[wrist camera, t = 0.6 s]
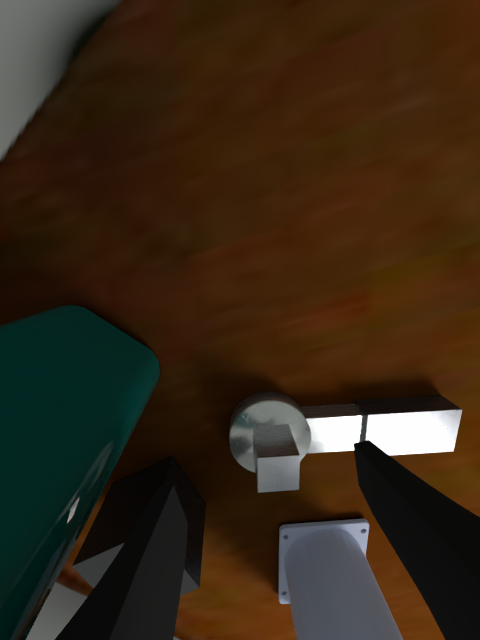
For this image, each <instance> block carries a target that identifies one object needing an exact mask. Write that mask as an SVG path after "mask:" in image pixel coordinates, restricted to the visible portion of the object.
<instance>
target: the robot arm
mask: <svg viewBox="0 0 480 640" xmlns="http://www.w3.org/2000/svg"><path fill="white" fill-rule="evenodd" d="M353 445H354V453H355V460H356V468H357V475H358V482H359V486H360V488H361V491H362V493H363V495H364V497H365V499H366V501H367V503H368V505H369V507H370V509H371V511H372V513H373V515H374V517H375V518H376V520H377V522H378V523H379V525H380V527H381V528H382V530H383V532H384V533H385V535H386V537H387V538H388V540H389V542H390V543H391V545H392V547H393V548H394V550H395V552H396V553H397V555H398V556H399V558H400V560H401V561H402V563H403V565H404V566H405V568H406V570H407V571H408V573H409V575H410V576H411V578H412V579H413V581H414V583H415V584H416V586H417V588H418V589H419V591H420V593H421V595H422V596H423V598H424V600H425V602H426V603H427V605H428V607H429V609H430V611H431V613H432V615H433V617H434V618H435V620H436V622H437V624H438V626H439V628H440V630H441V632H442V634H443V636H444V638H445V640H480V517H478V516H477V515H475V514H473V513H472V512H470V511H468V510H467V509H465V508H464V507H462V506H460V505H459V504H457V503H456V502H454V501H453V500H451V499H450V498H448V497H446V496H445V495H443V494H442V493H440V492H439V491H437V490H436V489H435V488H433V487H432V486H430V485H429V484H427V483H426V482H424V481H423V480H422V479H420V478H419V477H417V476H416V475H415V474H413V473H412V472H410V471H409V470H408V469H406V468H405V467H404V466H402V465H401V464H400V463H398V462H397V461H396V460H394V459H393V458H392V457H390V456H389V455H388V454H386V453H385V452H384V451H382V450H381V449H380V448H379V447H377V446H376V445H375V444H373V443H372V442H371V441H369V440H367V441H362V442H358V443H354V444H353ZM187 529H188V523H187V520H186V518H185V515H184V512H183V509H182V506H181V504H180V501H179V498H178V495H177V493H176V490H175V487H174V485H169V486H165V487H161V488H158V490H157V491H156V493H155V494H154V496H153V497H152V499H151V501H150V502H149V504H148V506H147V507H146V509H145V511H144V512H143V514H142V516H141V517H140V519H139V521H138V522H137V524H136V526H135V527H134V529H133V530H132V532H131V533H130V535H129V537H128V538H127V540H126V541H125V543H124V545H123V546H122V548H121V549H120V551H119V552H118V554H117V555H116V557H115V558H114V560H113V561H112V563H111V564H110V566H109V567H108V569H107V570H106V572H105V573H104V575H103V576H102V578H101V579H100V581H99V582H98V583H97V585H96V586H95V588H94V589H93V590H92V592H91V593H90V595H89V596H88V597H87V599H86V600H85V601H84V603H83V604H82V606H81V607H80V608H79V609H78V611H77V612H76V613H75V615H74V616H73V617H72V619H71V620H70V621H69V623H68V624H67V625H66V626H65V628H64V629H63V630H62V631H61V633H60V634H59V635H58V636H57V637H56V639H55V640H173V637H174V630H175V624H176V618H177V611H178V605H179V599H180V592H181V586H182V579H183V573H184V566H185V559H186V548H187ZM368 532H369V523H368V521H367V520H366V519H350V520H337V521H324V522H310V523H297V524H284V525H282V526H281V527H280V528H279V586H278V597H279V602H280V603H281V604H289V603H290V606H291V611H292V617H293V622H294V628H295V633H296V639H297V640H403V638H402V636H401V634H400V632H399V629H398V627H397V625H396V623H395V621H394V618H393V616H392V614H391V612H390V610H389V607H388V605H387V603H386V601H385V599H384V596H383V594H382V592H381V590H380V588H379V586H378V583H377V581H376V579H375V577H374V575H373V572H372V570H371V568H370V566H369V564H368V561H367V559H366V557H365V556H366V548H367V540H368Z"/></svg>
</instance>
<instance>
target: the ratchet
mask: <svg viewBox="0 0 480 640" xmlns="http://www.w3.org/2000/svg"><path fill="white" fill-rule="evenodd" d="M461 413H462V409H461V408H459V407H458V406H456V405H455V404H453V403H452V402H450V401H449V400H447V399H446V398H444V397H443V396H441V395H440V396H422V397H404V398H387V399H369V400H355V404H340V405H322V406H305V407H300V406H299V405H298V403H297V402H296V401H295V400H293V399H292V398H291V397H289V396H287V395H285V394H283V393H279V392H273V391H265V392H259V393H256V394H253V395H251V396H249V397H247V398H245V399H244V400H243V401H241V402H240V403H239V404H238V405H237V406H236V408H235V409H234V411H233V413H232V415H231V418H230V422H229V443H230V449H231V452H232V455H233V457H234V458H235V460H236V461H237V462H238V463H239V464H240V465H241V466H242V467H244V468H246V469H247V470H249V471H252V472H255V474H256V482H257V489H258V493H259V492H273V491H288V490H299V470H300V461H301V460H302V459H303V458H304V456H305V455H306V453H319V452H335V451H350V450H354V445H353V444H354V443H358V442H362V441H367V440H369V441H371V442H372V443H373V444H375V445H376V446H377V447H379V448H380V449H381V450H382V451H384V452H385V453H386V454H388V455H402V454H417V453H433V452H448V451H454V446H455V442H456V437H457V432H458V428H459V423H460V418H461Z"/></svg>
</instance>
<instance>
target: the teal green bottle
mask: <svg viewBox="0 0 480 640" xmlns="http://www.w3.org/2000/svg"><path fill="white" fill-rule="evenodd" d="M160 372H161V371H160V366H159V362H158V359H157V357H156V356H155V355H154V353H153V352H152V351H151V349H149V348H147V347H146V346H144V345H143V344H141V343H140V342H138V341H137V340H135V339H133V338H132V337H130V336H129V335H127V334H126V333H124V332H122V331H121V330H119V329H118V328H116V327H115V326H113V325H111V324H110V323H108V322H107V321H105V320H104V319H102V318H100V317H99V316H97V315H96V314H94V313H93V312H91V311H90V310H88V309H86V308H84V307H80V306H75V305H65V306H58V307H55V308H51V309H48V310H45V311H42V312H39V313H36V314H33V315H30V316H27V317H24V318H21V319H18V320H15V321H12V322H9V323H6V324H3V325H0V640H26V638H27V636H28V634H29V632H30V630H31V628H32V626H33V625H34V622H35V621H36V618H37V617H38V615H39V613H40V611H41V609H42V607H43V605H44V603H45V601H46V599H47V597H48V595H49V593H50V591H51V589H52V587H53V586H54V584H55V582H56V580H57V578H58V576H59V574H60V572H61V570H62V568H63V566H64V564H65V562H66V560H67V558H68V556H69V555H70V553H71V551H72V549H73V547H74V545H75V543H76V541H77V539H78V537H79V535H80V533H81V531H82V529H83V527H84V525H85V523H86V522H87V520H88V518H89V516H90V514H91V512H92V510H93V508H94V506H95V504H96V502H97V500H98V498H99V496H100V494H101V492H102V490H103V488H104V487H105V485H106V483H107V481H108V479H109V477H110V475H111V473H112V471H113V469H114V467H115V465H116V463H117V461H118V459H119V457H120V455H121V454H122V452H123V450H124V448H125V446H126V444H127V442H128V440H129V438H130V436H131V434H132V432H133V430H134V428H135V426H136V424H137V422H138V420H139V419H140V417H141V415H142V413H143V411H144V409H145V407H146V405H147V403H148V401H149V399H150V397H151V395H152V393H153V391H154V389H155V387H156V386H157V384H158V382H159V377H160Z"/></svg>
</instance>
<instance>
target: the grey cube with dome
mask: <svg viewBox="0 0 480 640" xmlns="http://www.w3.org/2000/svg"><path fill="white" fill-rule="evenodd" d="M169 485H174V487H175V490H176V493H177V495H178V498H179V501H180V504H181V506H182V509H183V512H184V515H185V518H186V520H187V523H188V529H187V548H186V559H185V566H184V573H183V579H182V586H181V592H180V596H181V595H183V594H186V593H188V592H190V591H193V590H195V589H197V588H199V586H200V573H201V560H202V547H203V535H204V522H205V509H206V503H205V502H204V500H203V499H202V497H201V496H200V495H199V493H198V492H197V490H196V489H195V487H194V486H193V485H192V483H191V482H190V480H189V479H188V477H187V476H186V475H185V473H184V472H183V470H182V469H181V467H180V466H179V465H178V463H177V462H176V460H175V459H174V458H173V456H171V457H169V458H167V459H164V460H162V461H160V462H158V463H156V464H154V465H152V466H150V467H147V468H145V469H143V470H141V471H139V472H137V473H135V474H133V475H130V476H128V477H126V478H124V479H122V480H120V481H118V482H115V483H113V484H112V485H111V488H110V490H109V492H108V494H107V496H106V498H105V500H104V502H103V504H102V506H101V508H100V510H99V512H98V514H97V516H96V518H95V520H94V522H93V524H92V527H91V529H90V531H89V533H88V535H87V537H86V539H85V541H84V543H83V545H82V547H81V549H80V551H79V553H78V555H77V557H76V559H75V561H74V563H73V566H72V567H73V568H74V569H75V570H76V571H77V572H78V573H79V574H80V575H81V576H82V577H83V578H84V579H85V580H86V581H87V582H88V583H89V584H90V585H91V586H92V587H93V588H95V586H96V585H97V583H98V582H99V581H100V579H101V578H102V576H103V575H104V573H105V572H106V570H107V569H108V567H109V566H110V564H111V563H112V561H113V560H114V558H115V557H116V555H117V554H118V552H119V551H120V549H121V548H122V546H123V545H124V543H125V541H126V540H127V538H128V537H129V535H130V533H131V532H132V530H133V529H134V527H135V526H136V524H137V522H138V521H139V519H140V517H141V516H142V514H143V512H144V511H145V509H146V507H147V506H148V504H149V502H150V501H151V499H152V497H153V496H154V494H155V493H156V491H157V490H158V488H161V487H165V486H169Z"/></svg>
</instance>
